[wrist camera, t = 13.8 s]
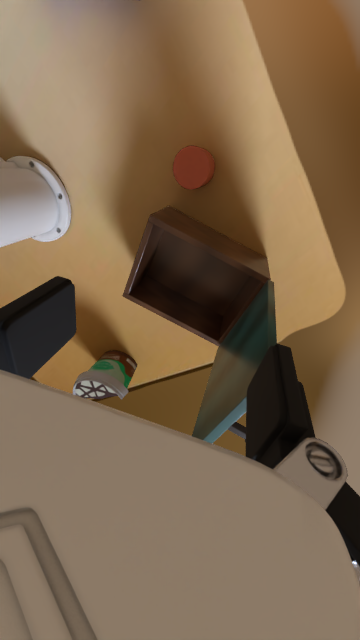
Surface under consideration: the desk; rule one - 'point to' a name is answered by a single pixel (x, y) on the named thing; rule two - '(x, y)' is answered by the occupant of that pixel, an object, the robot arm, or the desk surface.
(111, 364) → the food container
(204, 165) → the cylinder piece
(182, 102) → the desk surface
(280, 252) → the desk surface
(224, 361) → the sorter lid
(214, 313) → the box
